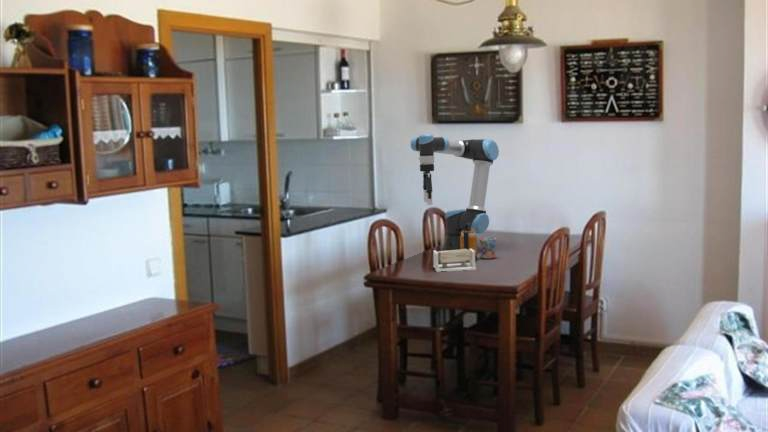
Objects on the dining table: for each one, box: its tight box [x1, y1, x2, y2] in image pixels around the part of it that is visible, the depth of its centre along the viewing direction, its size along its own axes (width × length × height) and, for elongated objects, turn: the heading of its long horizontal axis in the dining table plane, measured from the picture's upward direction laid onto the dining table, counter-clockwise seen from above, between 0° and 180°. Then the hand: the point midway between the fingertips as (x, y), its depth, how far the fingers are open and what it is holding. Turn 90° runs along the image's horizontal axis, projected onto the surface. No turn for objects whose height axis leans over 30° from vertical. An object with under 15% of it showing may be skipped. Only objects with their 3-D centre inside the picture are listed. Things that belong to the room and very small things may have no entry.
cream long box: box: [437, 249, 471, 264], centre depth 408 cm, size 6×16×5 cm, turn 106°
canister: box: [460, 223, 478, 262], centre depth 429 cm, size 9×11×20 cm
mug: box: [479, 237, 497, 260], centre depth 434 cm, size 12×9×11 cm
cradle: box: [432, 249, 477, 273], centre depth 408 cm, size 14×20×9 cm
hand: (428, 203), depth 424 cm, fingers open, 13 cm apart
